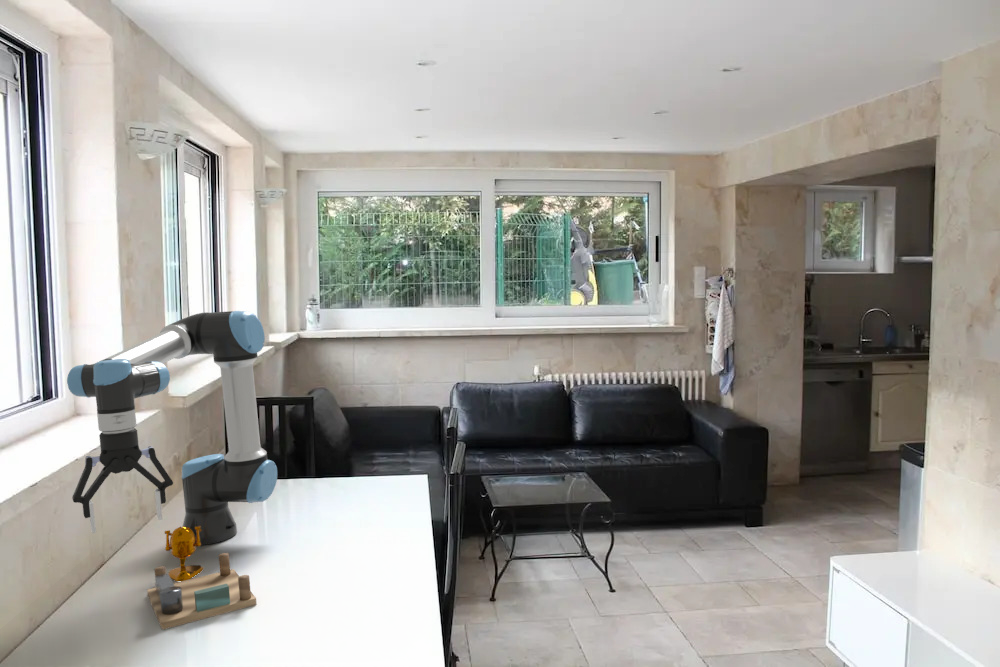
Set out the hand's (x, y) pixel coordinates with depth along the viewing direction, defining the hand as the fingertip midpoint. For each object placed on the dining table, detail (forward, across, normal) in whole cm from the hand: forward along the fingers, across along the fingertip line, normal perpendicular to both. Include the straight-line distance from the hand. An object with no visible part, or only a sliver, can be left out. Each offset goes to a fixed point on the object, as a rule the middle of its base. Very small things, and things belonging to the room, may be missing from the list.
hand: (127, 524), depth 175 cm
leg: (+19, +7, -1) cm, 20 cm away
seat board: (+21, +14, -1) cm, 25 cm away
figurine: (+21, +14, +19) cm, 32 cm away
